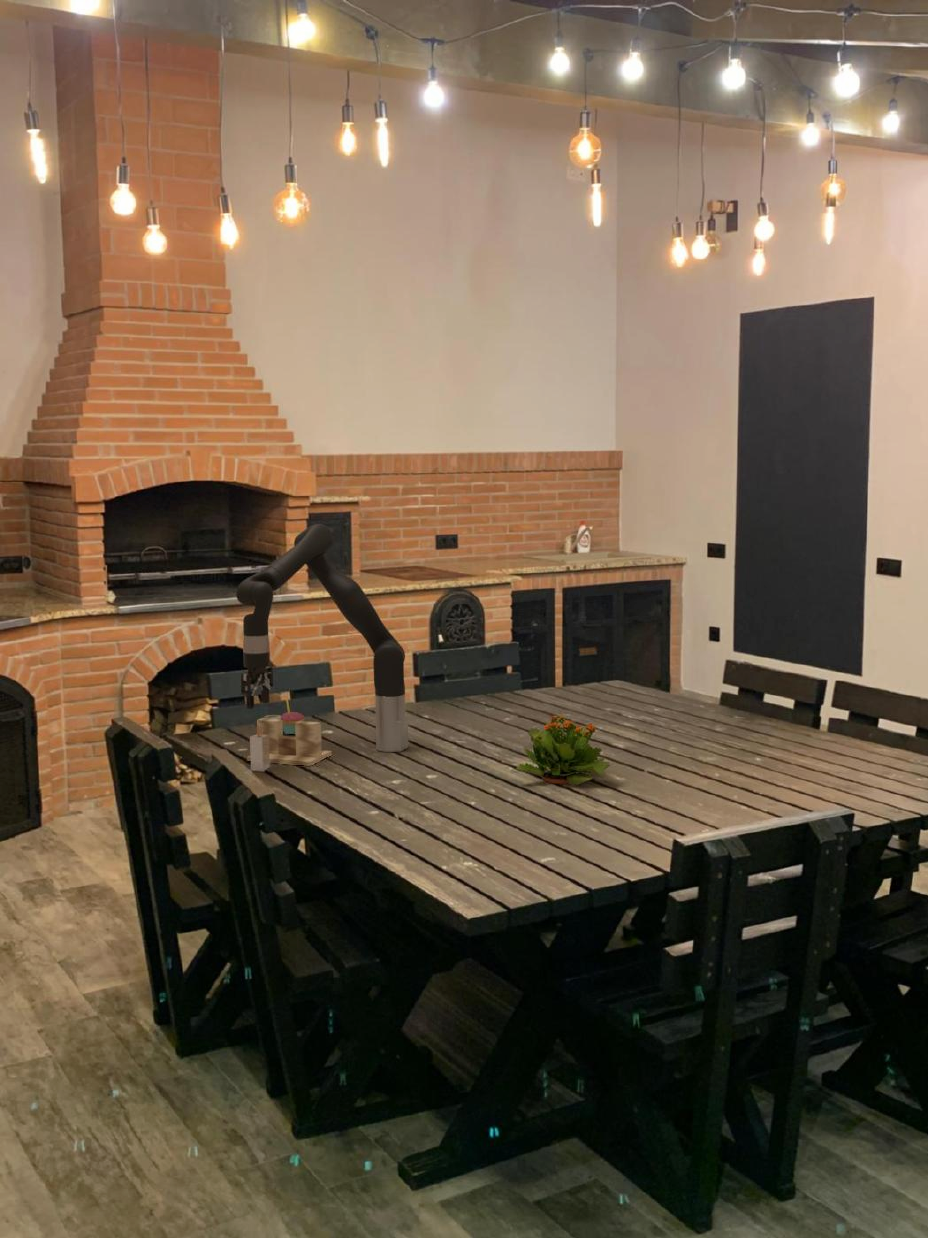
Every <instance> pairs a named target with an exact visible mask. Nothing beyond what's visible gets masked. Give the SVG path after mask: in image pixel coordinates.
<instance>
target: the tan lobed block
mask: <svg viewBox="0 0 928 1238" xmlns="http://www.w3.org/2000/svg"><path fill="white" fill-rule="evenodd" d="M281 716H282V715H279V714H270V715H269V714H268V715H265V716H264V717H261V718H259V719H257V720H256V727H257V726H258V725H261V734H264V735H269V752H270V763H279V764H278V765H282V764H289V765H288V766H293V765H313V766H315V765H316V764H315V763H317V762H319V761H320V760H322V759H324V758H326V757H329V756H331V755H332V754H333V753H332V752H333V751H332V750H324V749H323V750H322V723H321V721H320V722H318V721H308V720H307V721H306V720H305V721H299V722H296V723H295V733H296V734H295V736H292V735H284V733H283V732H284V730H283V724H282V720H281ZM331 757H332V756H331ZM246 758H247V759H246V760H247V761H251V756H250V755H248V756H247V757H246ZM329 758H330V757H329ZM247 761H246V762H247ZM319 763H320V762H319ZM314 764H315V765H314ZM317 764H318V763H317Z"/></svg>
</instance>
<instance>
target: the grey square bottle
mask: <svg viewBox="0 0 928 1238" xmlns="http://www.w3.org/2000/svg"><path fill="white" fill-rule="evenodd" d="M256 732H257V733H256V734H253V735H251V736H249V747H250V749H249V750H250V751H249V752H250V755H249V756H251V762H250V771H251V770H252V771H253V772H254V771H255V772H262V773H263V772H266V771H267V770H266V769H267V768H269V767H270V768H271V764H270V752H269V735H264V734H261V725H258V726H257V725H256ZM265 770H266V771H265Z"/></svg>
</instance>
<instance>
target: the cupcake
mask: <svg viewBox="0 0 928 1238" xmlns="http://www.w3.org/2000/svg"><path fill="white" fill-rule="evenodd" d="M287 697H288V696H286V697H285V701H286V708H287V712H285V713H283V714H281V715H280V716H281V720H282V724H283V732H284V733H283V734H284V735H287V734H295V735H296V733H295V723H296V722H299V721H306V718H305V715H303V714H302V713H300V712H296V711H290V706H289V705H290V704H289V699H288V698H287Z"/></svg>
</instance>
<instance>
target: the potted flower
mask: <svg viewBox="0 0 928 1238" xmlns="http://www.w3.org/2000/svg"><path fill="white" fill-rule="evenodd" d="M561 725H562V726H561ZM594 733H596V724H593V725H592V723H589V724H588V723H587V724H585V727H584V728H583V727H582V726H581V725H577V726H576V724H575V723H574V722H573V721H572V720H567V721H566V718H565V716H564V715H559V717H558V715H553V716H551V718H550V721H549V722H547V724H546V725H544V727H543V730H540V729H538V728H537V727H536V728H533V727H531V728H529V730H528V732H527V735H529V737H530V741H531V743H532V749H533V751H532V750H530V749H529V748H526V747H525V748H523V751H524V753H525V754H526V756H527V757H528V759H529V760H531V762H533V764H535V766H534V765H532V764H531V763H527V762H525V763H524V764H523V763H520V764H518V766H516V770H519V771H523V772H525V773H529V774H534V775H538V776H541V778H542V781H544V782H545V783H549V784H554V785H567V784H569V785H570V786H573V787H574V786H579V785H581V784H582V783H585V782H587V781H591V780H592V779H593V776H591V775H590V774H593V773H595V774H597V775H599V776H602V774H603V772H604V771H605V770H606V769H608V768H609V767H610V766H612V764H610V761H605V758H604V757H602V758H598V757H599V756H601V753H602V748H600V747H599V748H598V747H594V748H593V746H591V744H590V743H589V742H590V739H592V736H593V734H594ZM536 765H537V766H536Z"/></svg>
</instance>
